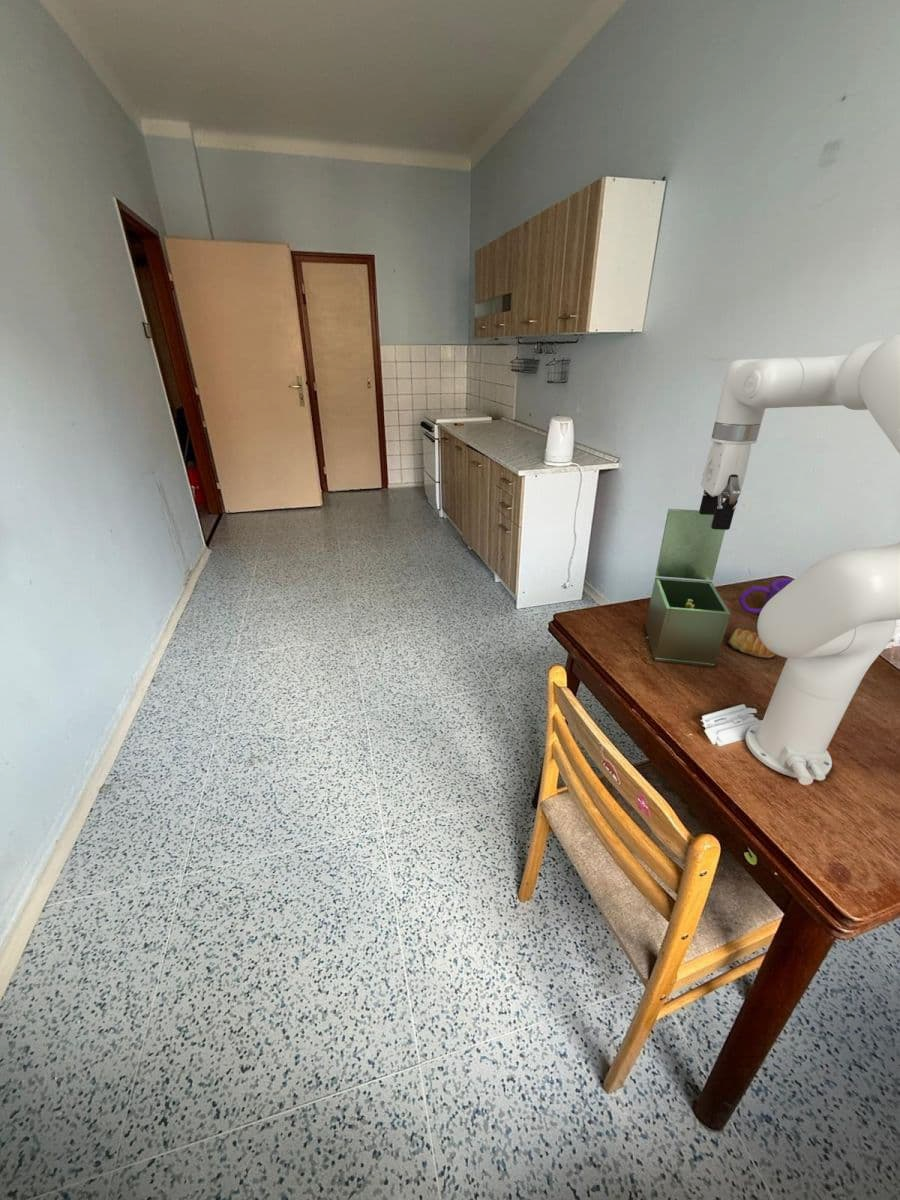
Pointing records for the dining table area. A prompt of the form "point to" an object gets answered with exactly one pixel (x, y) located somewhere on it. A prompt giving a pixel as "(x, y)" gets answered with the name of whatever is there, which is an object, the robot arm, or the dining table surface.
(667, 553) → the bin lid
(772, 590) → the mug
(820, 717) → the robot arm
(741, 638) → the pastry
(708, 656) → the trash bin
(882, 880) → the dining table surface
